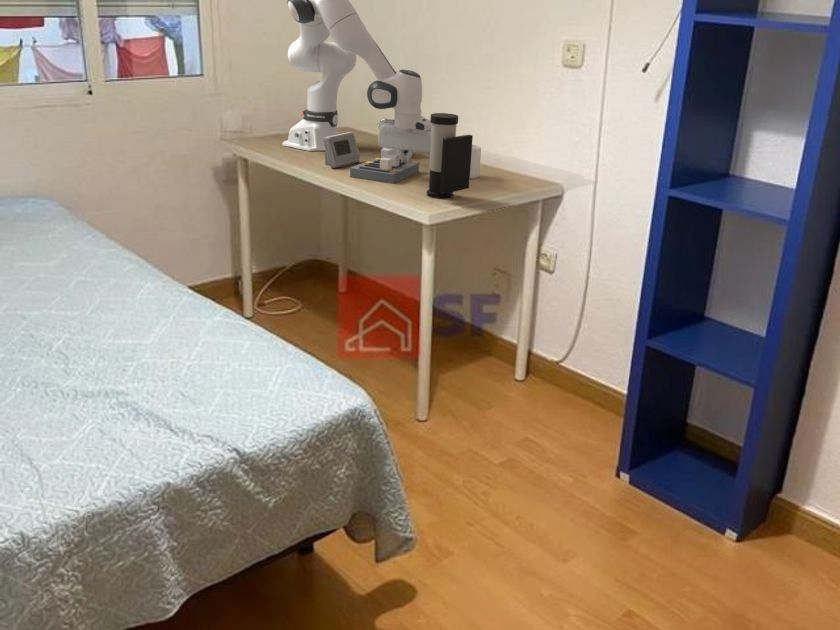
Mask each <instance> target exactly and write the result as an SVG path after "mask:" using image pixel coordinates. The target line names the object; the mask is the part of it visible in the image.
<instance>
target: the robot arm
mask: <svg viewBox="0 0 840 630" xmlns="http://www.w3.org/2000/svg"><path fill="white" fill-rule="evenodd" d="M286 2H287V3H286V4H287V7H288V11H289V13H290V15H291V17H292V18H293V19H294V20H295V22H297V23H298V26H299V32H300V34H299V37H298V38H297V39H296V40H294V41H293V42H292V43H291V44H290V46H289V47H288V50H287V59H288V60H287V61H288V63H289V64H290V66H291V68H293V69H297V70H298V71H303V72H313V73H321V74H322V76H321V80H317V81H316V82H314V83H312V84H311V85H309V87H308V88H307V90H306V91H307V92H306V93H307V95H306V100H307V102H306V103H307V104H306V105H307V106H306V108H307V109H305V110H303V111H301V114H300V115H301V116H303V118H302V119H301V120H300V121H298V122H297V123H296V124H295V125H294V126H292V127H291V128H290V129H289V132H288V139H287V140H284V141H283V142H282V146H283V147H288V148H289V147H290V148H292V149H293V148H294V149H297V150H298V149H299V150H304V151H309V152H315V151H316V152H317V151H319V152H320V151H326V150H325V146H324V142H323V139H324V138H325V137H327V136H330V135H335V134H339V133H338V121H339V120H338V119H339V118H338V117H339V116H338V113H339V112H338V109H337V103H338V91H339V87H340V84H341V83H342V81H343V79H344V78H345V77H346V76H347V75H348V74H350V73H351V72H352V71H353V70H354V68H355V66H356V64H357V56H358V57H359V58H361V59H362V60H363V61H365V62H366V64H367V66H369V68H370V69H371V72H372V74H374V77H376V79H377V80H374V81H372V82H371V83H370V84H369V85H368V88H367V90H366V97H367V100H368V102H369V104H370V106H372V107H373V108H375V109H378V110H387V109H394V119H388V118H383V119H381V120H380V121H379V122H378V130H379V132H378V137H377V145H378V146H379V147H382V148H383V147H387V148H394V149H398V153H399V155H400V157H401V158H400V159H401V163H407V164H410V163H411V162H412V157H413V156H414V155H415V152H417V153H418V152H419V153H424V154H430V144H431V125H432V123H431V122H430V119H428V118H426V117H424V116H423V115H422V109H421V103H422V102H423V81H422V77H421V75H420V74H419V73H417V72H416V71H413V70H409V69H399V70H398V71H396V70H395V69H394V68H393V66H392V64H391V63H390V61H389V60H388V58H387V57H386V55H385V54H384V53H383V51H382V49H381V48H380V47H379V45H378V44H377V42H376V41H375V40H374V38H373V36H372V35H371V34H370V32H369V30H368V29H367V27H366V26H365V24H364V22H363V21H362V19H361V17H360V16H359V14H358V12H357V10H356V9H355V7H354V6H353V4H352V3H351V1H350V0H287V1H286ZM330 37H331V38H332V39H333V41H334V42H333V41H326V40H328V38H330ZM405 150H408V154H409V156H408V157H405V156H404V153H403V152H404V151H405Z"/></svg>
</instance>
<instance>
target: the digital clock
mask: <svg viewBox="0 0 840 630" xmlns="http://www.w3.org/2000/svg"><path fill="white" fill-rule="evenodd" d="M323 142H324V146H325V150H324V165H325V166H329V168H332V169H336V168H342V167H346V166H349V165H354V164H355V163H359V162H360V161H361V155H360V151H359V149H358V147H359V146H358V145H357V141H356V136H355V134H354V132H353V131H348V132H342V133H341V132H340V133H338V134H335V135H330V136H327V137H325V138H324V139H323Z"/></svg>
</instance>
